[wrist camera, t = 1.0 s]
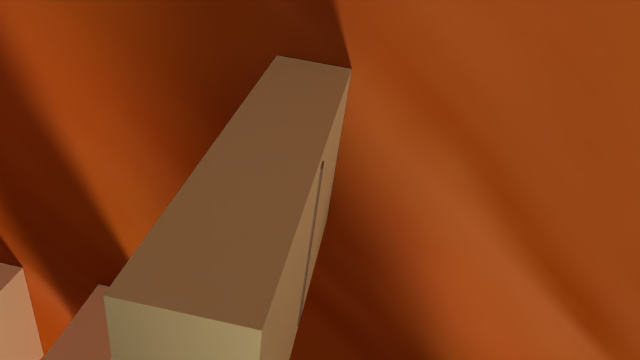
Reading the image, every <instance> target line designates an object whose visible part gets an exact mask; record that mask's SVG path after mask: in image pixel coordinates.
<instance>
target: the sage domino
mask: <svg viewBox="0 0 640 360" xmlns="http://www.w3.org/2000/svg"><path fill="white" fill-rule="evenodd" d="M351 71H352V69H350V68H344V67H339V66H333V65H328V64H322V63H317V62H311V61H306V60H300V59H295V58H289V57H284V56H278V55H277V56H276V57H275V59H274V60H273V61H272V63H271V64H270V66H269V67H268V68H267V70H266V71H265V72H264V74H263V75H262V77H261V78H260V79H259V81H258V82H257V84H256V85H255V86H254V88H253V89H252V90H251V92H250V93H249V95H248V96H247V97H246V99H245V100H244V101H243V103H242V104H241V106H240V107H239V108H238V110H237V111H236V113H235V114H234V115H233V117H232V118H231V119H230V121H229V122H228V124H227V125H226V126H225V128H224V129H223V131H222V132H221V133H220V135H219V136H218V137H217V139H216V140H215V142H214V143H213V144H212V146H211V147H210V149H209V150H208V151H207V153H206V154H205V155H204V157H203V158H202V160H201V161H200V162H199V164H198V165H197V166H196V168H195V169H194V171H193V172H192V173H191V175H190V176H189V178H188V179H187V180H186V182H185V183H184V184H183V186H182V187H181V189H180V190H179V191H178V193H177V194H176V196H175V197H174V198H173V200H172V201H171V202H170V204H169V205H168V207H167V208H166V209H165V211H164V212H163V214H162V215H161V216H160V218H159V219H158V220H157V222H156V223H155V225H154V226H153V227H152V229H151V230H150V231H149V233H148V234H147V236H146V237H145V238H144V240H143V241H142V243H141V244H140V245H139V247H138V248H137V249H136V251H135V252H134V254H133V255H132V256H131V258H130V259H129V261H128V262H127V263H126V265H125V266H124V267H123V269H122V270H121V272H120V273H119V274H118V276H117V277H116V279H115V280H114V281H113V283H112V284H111V285H110V287H109V288H108V290H107V291H106V292H105V294H104V295H103V297H104V305H105V312H106V319H107V327H108V334H109V342H110V349H111V357H112V360H289V359H290V355H291V351H292V348H293V344H294V340H295V336H296V333H297V329H298V326H299V323H300V319H301V314H302V311H303V307H304V303H305V299H306V296H307V292H308V288H309V285H310V281H311V277H312V274H313V270H314V266H315V262H316V259H317V255H318V251H319V248H320V244H321V240H322V237H323V233H324V229H325V225H326V222H327V216H328V210H329V204H330V198H331V192H332V186H333V180H334V174H335V168H336V162H337V156H338V149H339V143H340V137H341V131H342V125H343V119H344V113H345V107H346V101H347V95H348V89H349V83H350V77H351Z"/></svg>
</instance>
